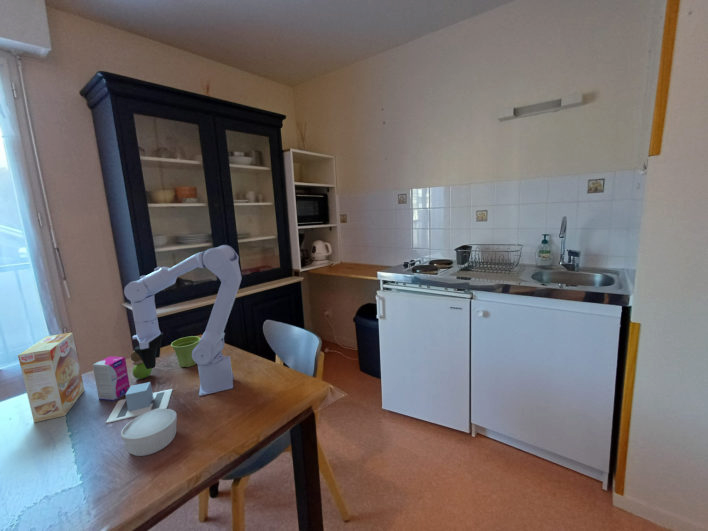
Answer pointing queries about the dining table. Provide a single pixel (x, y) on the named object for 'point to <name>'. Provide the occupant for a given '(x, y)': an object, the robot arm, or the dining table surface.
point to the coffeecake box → (51, 376)
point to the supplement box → (111, 378)
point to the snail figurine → (139, 367)
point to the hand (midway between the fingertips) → (153, 362)
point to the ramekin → (150, 432)
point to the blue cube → (139, 396)
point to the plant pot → (185, 350)
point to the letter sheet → (121, 409)
